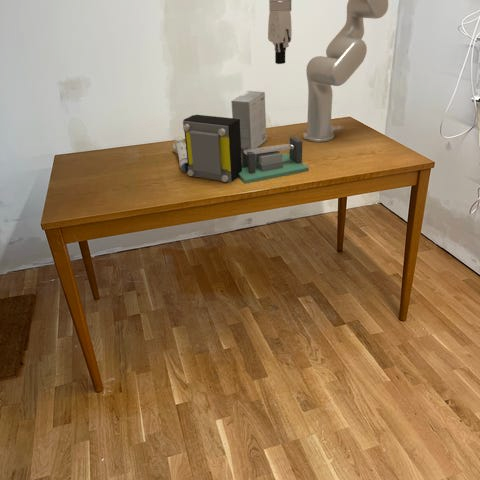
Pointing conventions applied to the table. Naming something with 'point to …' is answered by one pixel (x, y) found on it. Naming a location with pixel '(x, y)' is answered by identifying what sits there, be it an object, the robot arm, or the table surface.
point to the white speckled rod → (181, 153)
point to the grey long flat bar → (270, 148)
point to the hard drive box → (250, 118)
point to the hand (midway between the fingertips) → (280, 63)
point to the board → (273, 173)
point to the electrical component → (213, 147)
